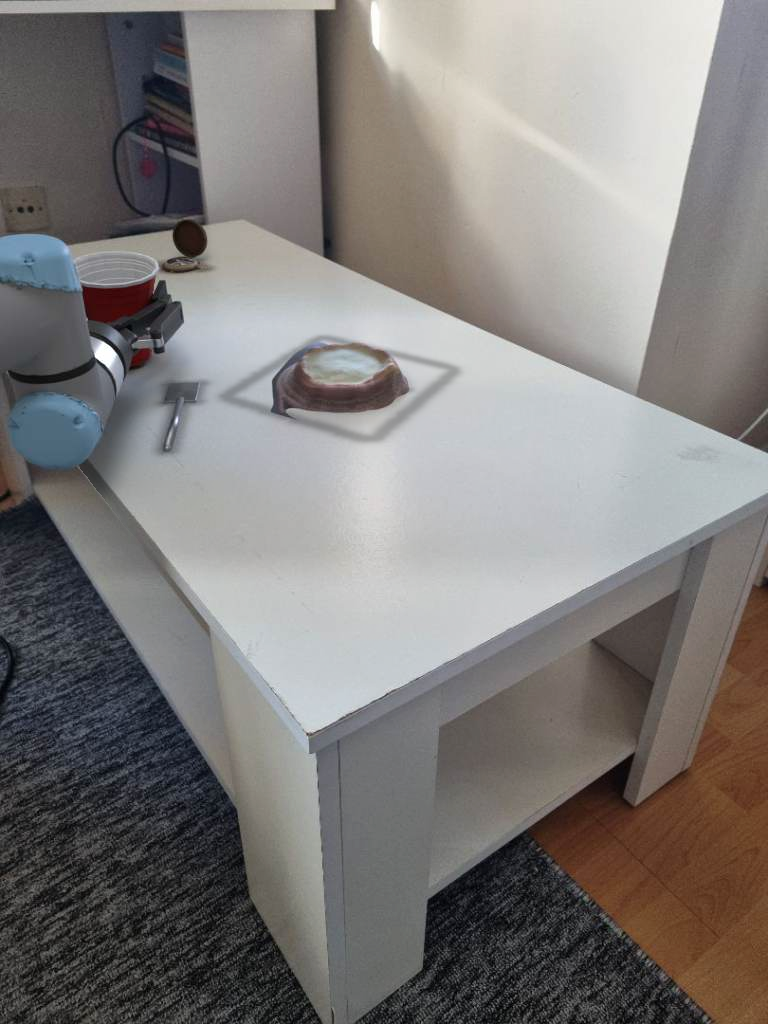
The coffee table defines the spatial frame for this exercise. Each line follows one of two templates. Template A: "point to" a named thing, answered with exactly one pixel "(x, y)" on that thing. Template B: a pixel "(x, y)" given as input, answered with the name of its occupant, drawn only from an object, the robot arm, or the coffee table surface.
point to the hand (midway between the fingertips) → (127, 291)
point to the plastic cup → (117, 287)
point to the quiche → (338, 379)
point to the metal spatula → (178, 407)
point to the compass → (187, 246)
